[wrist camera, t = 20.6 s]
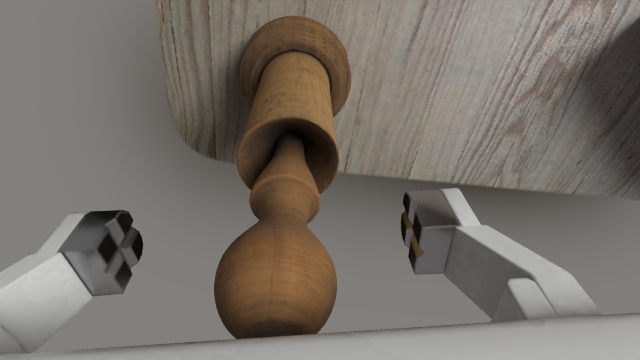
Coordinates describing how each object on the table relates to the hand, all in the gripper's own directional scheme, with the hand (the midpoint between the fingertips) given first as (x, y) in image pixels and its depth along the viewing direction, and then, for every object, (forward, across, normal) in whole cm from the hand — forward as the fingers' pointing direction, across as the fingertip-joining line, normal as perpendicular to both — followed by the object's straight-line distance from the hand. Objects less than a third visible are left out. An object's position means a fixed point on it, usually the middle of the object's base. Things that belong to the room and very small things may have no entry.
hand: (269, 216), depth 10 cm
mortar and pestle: (+14, -1, 0) cm, 15 cm away
